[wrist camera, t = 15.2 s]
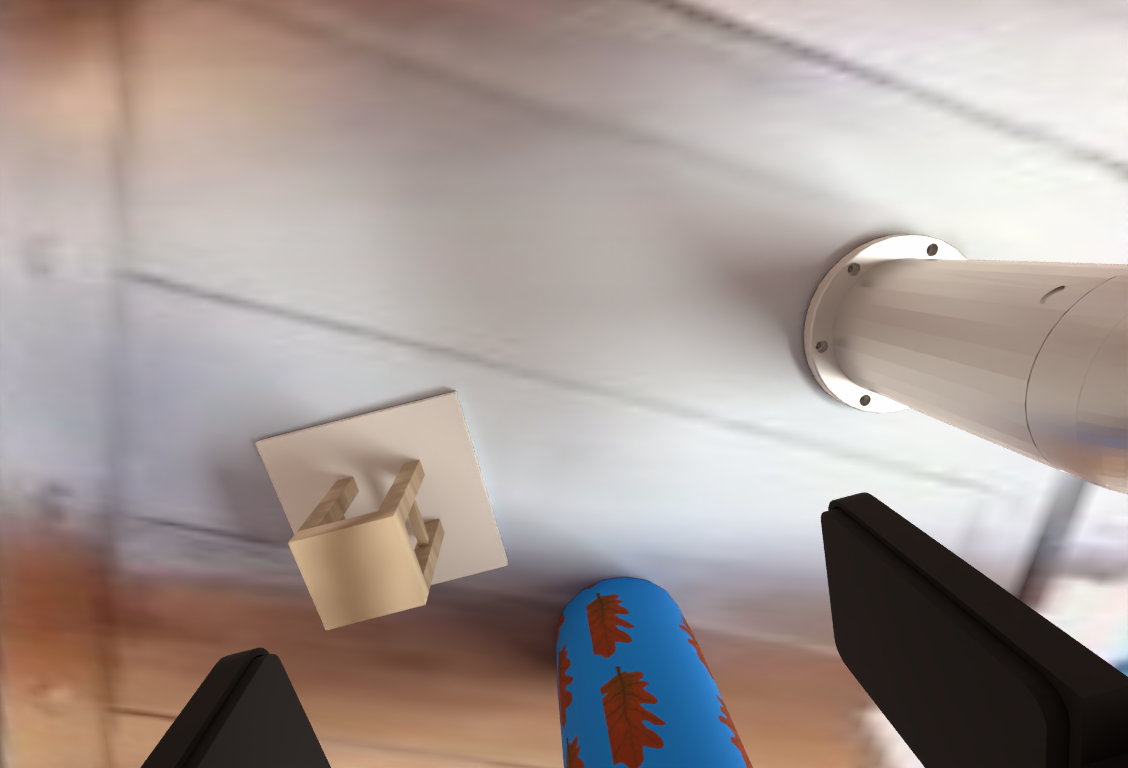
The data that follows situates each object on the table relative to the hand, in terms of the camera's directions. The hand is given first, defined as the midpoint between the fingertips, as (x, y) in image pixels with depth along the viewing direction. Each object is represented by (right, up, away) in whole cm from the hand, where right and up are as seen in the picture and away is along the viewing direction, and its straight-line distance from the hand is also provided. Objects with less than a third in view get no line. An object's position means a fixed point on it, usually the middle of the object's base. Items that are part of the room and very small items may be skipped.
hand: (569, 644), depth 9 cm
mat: (-13, -4, +29) cm, 32 cm away
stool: (-12, -5, +29) cm, 32 cm away
